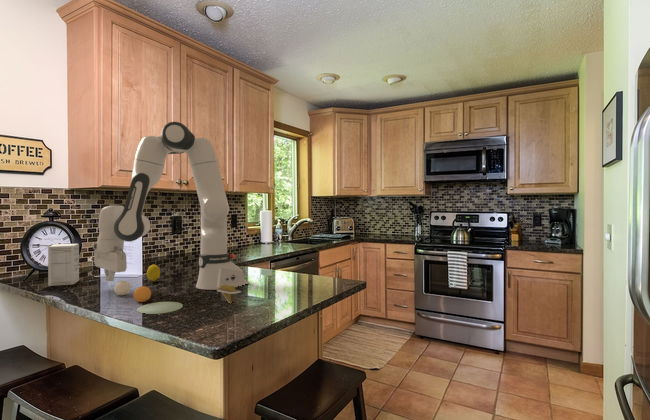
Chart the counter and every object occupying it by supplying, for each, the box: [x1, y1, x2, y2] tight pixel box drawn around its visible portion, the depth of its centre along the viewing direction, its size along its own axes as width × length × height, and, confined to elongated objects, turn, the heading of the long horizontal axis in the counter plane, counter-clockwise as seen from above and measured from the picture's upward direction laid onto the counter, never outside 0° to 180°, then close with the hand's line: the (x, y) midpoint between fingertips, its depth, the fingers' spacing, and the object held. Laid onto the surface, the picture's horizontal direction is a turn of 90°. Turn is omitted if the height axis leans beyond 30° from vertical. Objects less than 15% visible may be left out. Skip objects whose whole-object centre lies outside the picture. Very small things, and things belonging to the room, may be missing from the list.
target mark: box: [136, 301, 184, 315], centre depth 119 cm, size 14×14×1 cm
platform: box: [216, 284, 242, 305], centre depth 127 cm, size 12×18×7 cm, turn 59°
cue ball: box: [113, 280, 132, 296], centre depth 135 cm, size 6×6×6 cm
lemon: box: [146, 263, 161, 283], centre depth 160 cm, size 6×6×8 cm
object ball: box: [133, 285, 152, 303], centre depth 126 cm, size 6×6×6 cm
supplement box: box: [47, 243, 80, 287], centre depth 154 cm, size 10×9×17 cm
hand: (109, 280), depth 140 cm, fingers closed
